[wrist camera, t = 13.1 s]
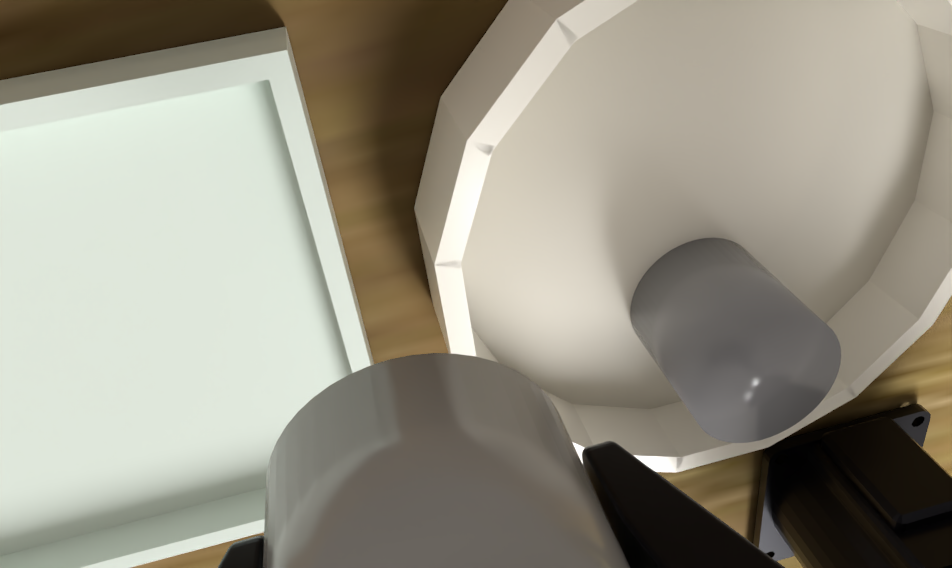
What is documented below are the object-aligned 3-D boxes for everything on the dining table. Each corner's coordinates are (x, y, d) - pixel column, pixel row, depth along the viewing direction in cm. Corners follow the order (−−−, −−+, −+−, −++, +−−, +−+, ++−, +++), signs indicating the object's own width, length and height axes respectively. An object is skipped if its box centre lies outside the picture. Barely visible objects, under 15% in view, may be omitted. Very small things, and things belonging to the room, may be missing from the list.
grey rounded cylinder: (751, 337, 24) (829, 422, 20) (630, 366, 23) (689, 458, 20) (763, 224, 21) (852, 299, 18) (629, 254, 21) (695, 336, 18)
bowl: (881, 343, 26) (944, 398, 24) (462, 453, 25) (483, 525, 22) (983, -150, 18) (1097, -145, 16) (365, -38, 16) (382, -12, 14)
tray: (395, 447, 24) (405, 494, 22) (-75, 568, 22) (-103, 629, 20) (285, 26, 17) (287, 50, 15) (-419, 159, 15) (-504, 201, 13)
